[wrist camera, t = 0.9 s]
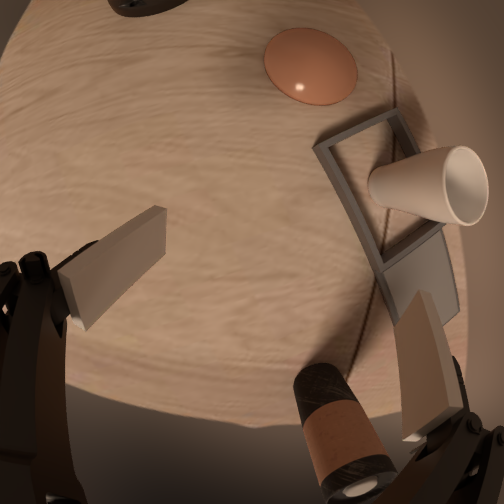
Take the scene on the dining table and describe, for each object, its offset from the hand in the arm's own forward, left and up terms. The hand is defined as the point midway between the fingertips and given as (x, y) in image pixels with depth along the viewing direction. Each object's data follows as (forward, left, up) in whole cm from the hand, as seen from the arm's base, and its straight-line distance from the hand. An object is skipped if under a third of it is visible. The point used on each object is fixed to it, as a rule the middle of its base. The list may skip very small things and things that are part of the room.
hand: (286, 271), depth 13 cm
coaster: (-15, +16, -18) cm, 29 cm away
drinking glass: (+3, +16, -19) cm, 25 cm away
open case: (+12, +16, -18) cm, 27 cm away
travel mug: (+23, -4, -19) cm, 30 cm away
